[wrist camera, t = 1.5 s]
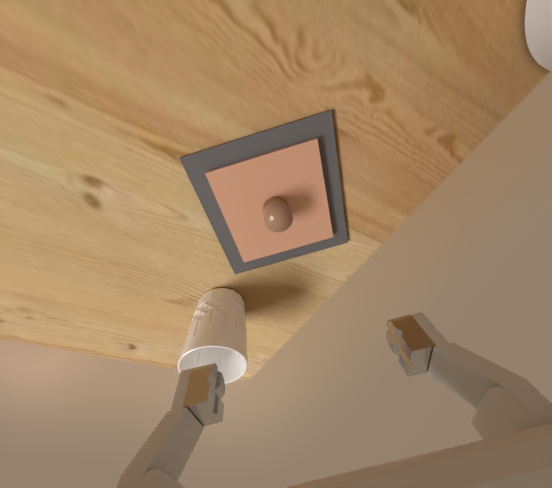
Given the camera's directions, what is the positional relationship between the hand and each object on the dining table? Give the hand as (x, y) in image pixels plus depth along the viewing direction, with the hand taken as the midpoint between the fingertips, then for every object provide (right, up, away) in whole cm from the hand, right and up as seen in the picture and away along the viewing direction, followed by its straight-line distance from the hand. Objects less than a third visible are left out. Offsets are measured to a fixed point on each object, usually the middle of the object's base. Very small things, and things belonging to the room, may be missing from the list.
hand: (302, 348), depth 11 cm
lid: (-1, +9, +17) cm, 19 cm away
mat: (-1, +10, +17) cm, 20 cm away
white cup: (-9, -4, +25) cm, 27 cm away
